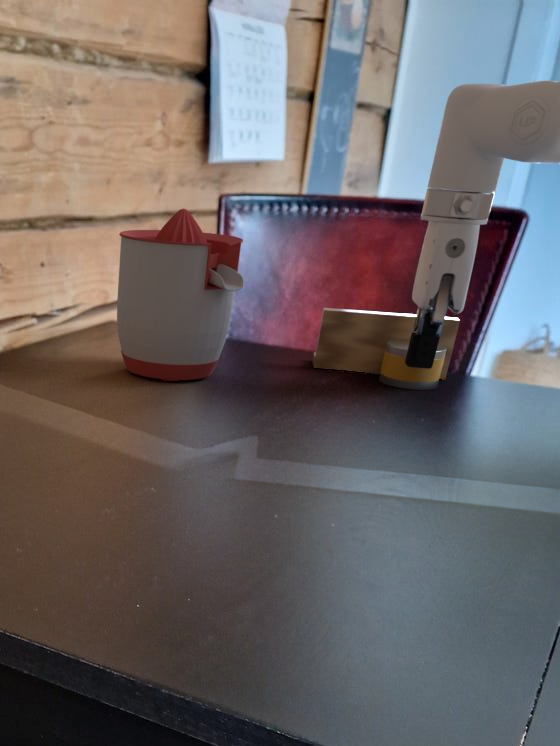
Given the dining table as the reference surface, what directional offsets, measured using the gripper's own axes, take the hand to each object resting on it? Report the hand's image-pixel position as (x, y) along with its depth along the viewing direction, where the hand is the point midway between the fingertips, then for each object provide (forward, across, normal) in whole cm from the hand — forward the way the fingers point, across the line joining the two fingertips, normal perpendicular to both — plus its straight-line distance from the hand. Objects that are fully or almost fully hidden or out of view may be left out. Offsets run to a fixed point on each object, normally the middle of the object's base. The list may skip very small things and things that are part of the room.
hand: (418, 366), depth 111 cm
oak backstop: (+3, +12, +3) cm, 13 cm away
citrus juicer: (+4, -1, +31) cm, 32 cm away
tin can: (+3, +6, 0) cm, 6 cm away
